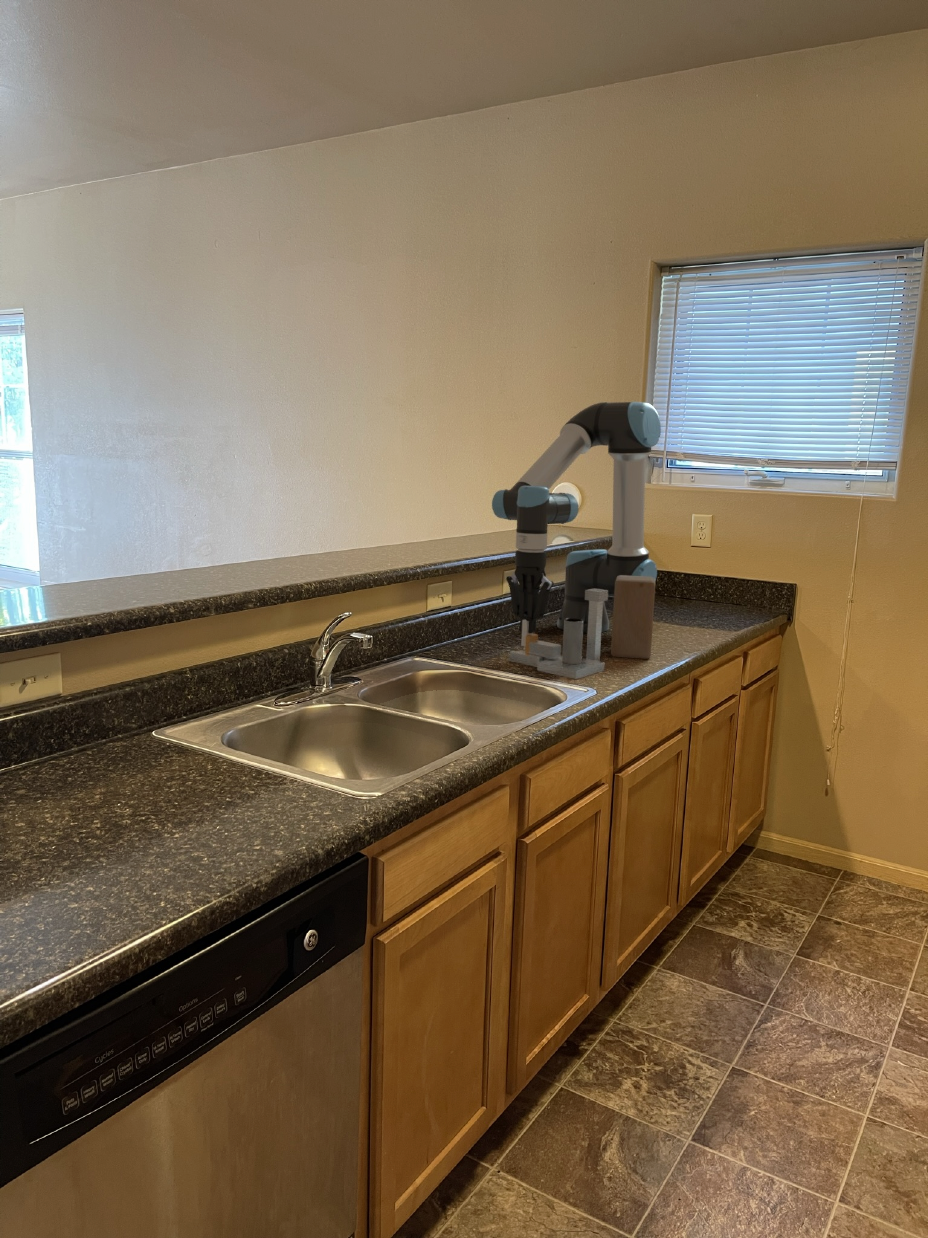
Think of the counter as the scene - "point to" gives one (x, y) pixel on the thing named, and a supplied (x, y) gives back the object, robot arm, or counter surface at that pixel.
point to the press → (593, 645)
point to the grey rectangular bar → (541, 648)
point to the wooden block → (633, 616)
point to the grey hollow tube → (572, 641)
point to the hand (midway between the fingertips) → (527, 645)
